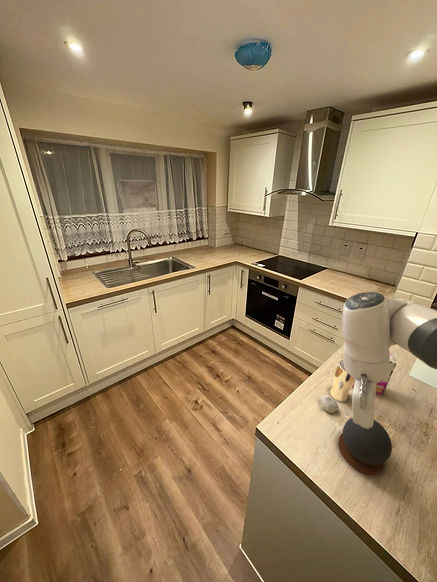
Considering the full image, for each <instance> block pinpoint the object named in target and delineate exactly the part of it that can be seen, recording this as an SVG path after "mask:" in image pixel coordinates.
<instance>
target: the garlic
mask: <svg viewBox="0 0 437 582" xmlns="http://www.w3.org/2000/svg"><path fill="white" fill-rule="evenodd" d="M320 406H321V408H322V410H324V411H325V412H328V413H332V414H333V413H335V412H337V411H338V410H339V405H338V402H337V400H336V399H335V398H333V397H332V396H329V395H326V396H321V398H320Z"/></svg>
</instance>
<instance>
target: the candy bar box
mask: <svg viewBox="0 0 437 582" xmlns="http://www.w3.org/2000/svg"><path fill="white" fill-rule="evenodd" d="M396 366H397V360H395V358H394V355H393V354H390V373H389V376H388V377H387V378H385V379H384V380H381V381H380V382H378V383H376V394H379V395H384V393H385V391H386V389H387V386H388V384H389V383H390V382H389V381H390V380H391V377H392V375H393V372H394V370H395V368H396ZM352 388H353V389H354V385H353V386H352Z"/></svg>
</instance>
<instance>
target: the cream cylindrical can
mask: <svg viewBox="0 0 437 582" xmlns="http://www.w3.org/2000/svg"><path fill="white" fill-rule="evenodd" d="M354 383H355V379H354V378H353V377H352V376H351V375H350V374H348V373H347V371H346V370H345V368H344V359H340V360H339V361H338V364H337V365H336V368H335V371H334V374H333V384H332V387H331V389H330V392H329V394H330V396H331V397H332V398H333V399H334V400H335V401H338V402H346V401H347V399H348V394H349V393H350V391H351V389H352V388H353V387H352V386H353V385H354Z"/></svg>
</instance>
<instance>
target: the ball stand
mask: <svg viewBox="0 0 437 582" xmlns="http://www.w3.org/2000/svg"><path fill="white" fill-rule="evenodd" d="M391 439H392V438H391V437H390V434H389V433H388V431H387V429H386V428H384V426H383V425H382V424H381V423H380V422H378V421H377V420H375V419H374V422H373V427H372V428H369V429H367V428H363V427H361V426H360V425H359V424H356V423H354V421H353V416H352V417H350V418H349V419H347V420H346V422H345V423H344V425H343V427H342V433H341V434H340V435H339V437H338V441H337V447H338V451H339V453H340V455H341V456H342V458H343V459H344V460H345V461H346V463H347V464H348V465H349V466H351V468H353V469H354V470H356V471H358V472H360V473H361V474H364V475H368V476H375V475H379V474H380V473H381V472H382V471H383V470H384V468H385V464H386V462H387V461H388V460H389V459H390V457H391V455H392V451H393V443H392V440H391Z"/></svg>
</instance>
